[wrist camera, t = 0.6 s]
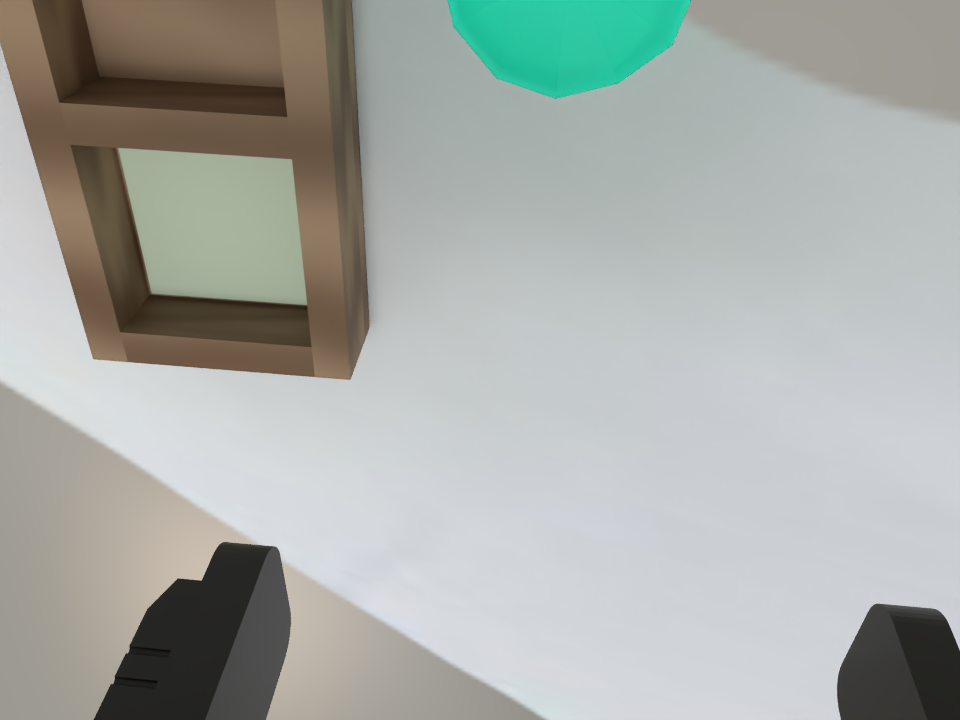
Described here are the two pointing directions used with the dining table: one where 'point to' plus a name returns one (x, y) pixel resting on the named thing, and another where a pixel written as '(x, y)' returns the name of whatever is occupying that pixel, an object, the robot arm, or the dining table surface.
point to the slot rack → (201, 176)
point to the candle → (567, 39)
